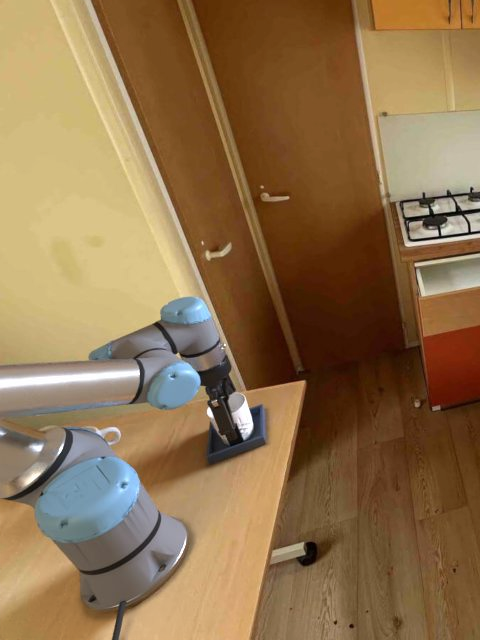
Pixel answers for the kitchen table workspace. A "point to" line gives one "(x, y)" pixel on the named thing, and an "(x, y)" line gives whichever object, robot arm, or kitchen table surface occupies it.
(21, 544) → the kitchen table surface
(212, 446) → the tray
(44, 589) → the kitchen table surface
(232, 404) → the white cup
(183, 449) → the kitchen table surface
